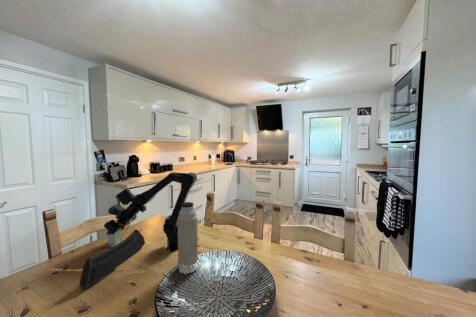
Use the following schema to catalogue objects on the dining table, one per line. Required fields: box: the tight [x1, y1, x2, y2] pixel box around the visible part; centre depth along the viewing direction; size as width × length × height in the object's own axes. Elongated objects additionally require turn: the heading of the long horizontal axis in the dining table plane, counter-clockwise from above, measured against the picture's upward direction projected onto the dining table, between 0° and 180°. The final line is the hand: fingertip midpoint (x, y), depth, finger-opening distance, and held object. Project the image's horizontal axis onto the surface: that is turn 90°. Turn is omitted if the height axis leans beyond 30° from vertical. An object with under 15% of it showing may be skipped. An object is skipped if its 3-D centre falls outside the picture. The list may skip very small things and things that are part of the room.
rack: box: [101, 238, 124, 249], centre depth 102 cm, size 6×8×2 cm
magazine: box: [78, 229, 146, 289], centre depth 84 cm, size 17×3×30 cm
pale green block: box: [106, 229, 121, 246], centre depth 102 cm, size 4×4×11 cm
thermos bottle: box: [177, 201, 199, 266], centre depth 83 cm, size 8×8×28 cm
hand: (110, 232), depth 102 cm, fingers open, 5 cm apart
